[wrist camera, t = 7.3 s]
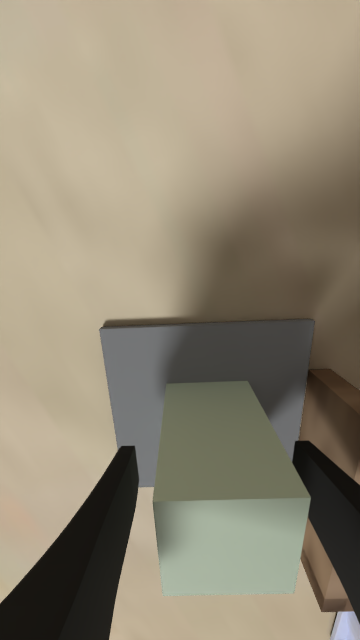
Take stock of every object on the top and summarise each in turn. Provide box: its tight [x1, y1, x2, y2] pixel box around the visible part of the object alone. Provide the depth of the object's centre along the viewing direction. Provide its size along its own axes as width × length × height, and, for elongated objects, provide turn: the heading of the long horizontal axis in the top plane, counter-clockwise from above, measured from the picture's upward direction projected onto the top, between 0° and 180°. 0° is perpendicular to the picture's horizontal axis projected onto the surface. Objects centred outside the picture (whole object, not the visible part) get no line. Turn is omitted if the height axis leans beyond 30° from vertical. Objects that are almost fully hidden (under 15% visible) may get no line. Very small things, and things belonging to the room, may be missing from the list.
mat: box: [99, 319, 315, 487], centre depth 13 cm, size 11×11×1 cm
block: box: [153, 381, 311, 596], centre depth 10 cm, size 4×4×6 cm
